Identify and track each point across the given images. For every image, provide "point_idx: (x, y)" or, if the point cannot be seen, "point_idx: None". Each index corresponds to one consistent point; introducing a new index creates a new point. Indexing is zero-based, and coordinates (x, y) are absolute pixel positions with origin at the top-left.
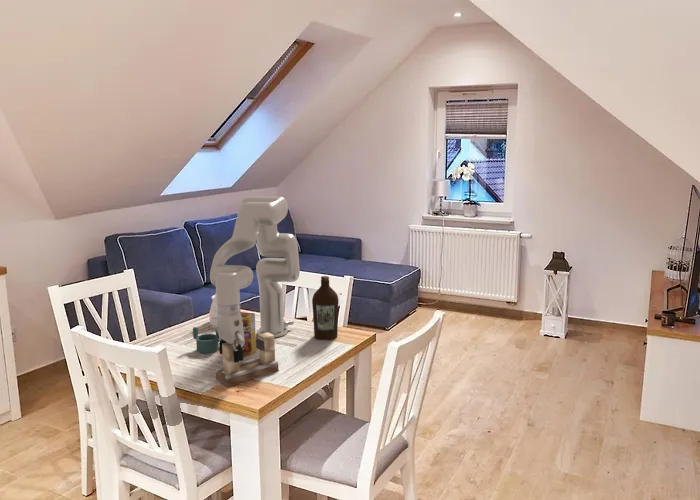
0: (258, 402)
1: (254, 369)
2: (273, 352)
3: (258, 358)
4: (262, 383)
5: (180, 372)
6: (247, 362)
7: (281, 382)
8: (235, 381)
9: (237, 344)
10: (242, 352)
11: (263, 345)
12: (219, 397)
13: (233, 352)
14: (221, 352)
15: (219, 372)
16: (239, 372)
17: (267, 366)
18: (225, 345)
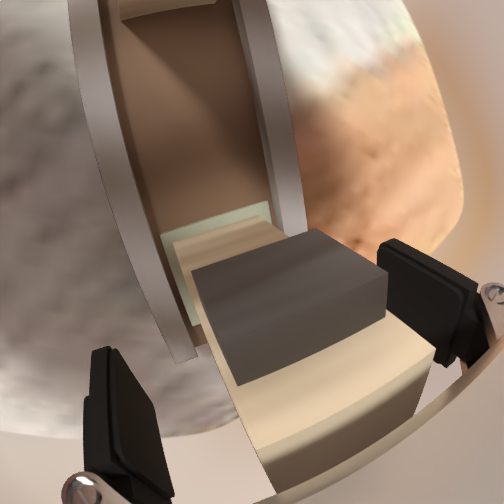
0: (449, 197)
1: (288, 109)
2: None
3: (88, 15)
4: (343, 106)
5: (54, 431)
6: (116, 116)
7: (370, 30)
8: None
9: (428, 359)
10: (448, 271)
11: None
12: None
13: (437, 359)
14: (152, 411)
15: (191, 334)
16: (295, 228)
17: (262, 6)
18: None
